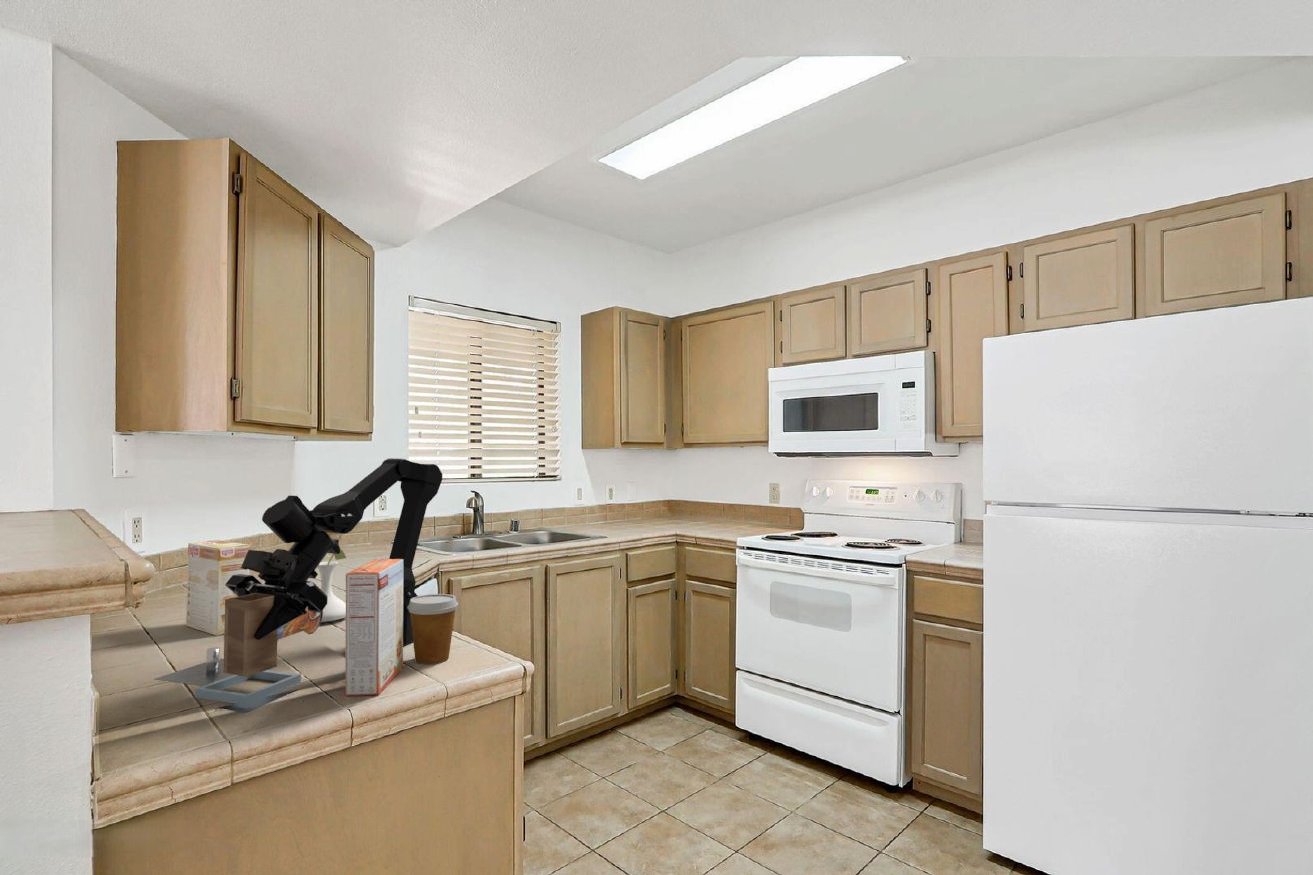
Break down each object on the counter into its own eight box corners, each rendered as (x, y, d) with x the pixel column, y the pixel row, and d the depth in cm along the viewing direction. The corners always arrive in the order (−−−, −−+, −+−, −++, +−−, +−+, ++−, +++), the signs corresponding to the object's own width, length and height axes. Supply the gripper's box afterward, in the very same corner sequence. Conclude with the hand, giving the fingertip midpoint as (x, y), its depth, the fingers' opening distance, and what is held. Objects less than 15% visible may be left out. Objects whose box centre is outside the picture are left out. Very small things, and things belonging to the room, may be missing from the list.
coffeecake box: (249, 629, 149) (251, 544, 150) (215, 636, 143) (217, 547, 144) (218, 619, 157) (220, 539, 158) (184, 626, 151) (186, 542, 152)
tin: (273, 648, 135) (274, 607, 135) (260, 647, 136) (261, 606, 136) (323, 629, 150) (324, 592, 150) (312, 628, 151) (312, 591, 151)
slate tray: (300, 689, 112) (300, 674, 112) (246, 712, 102) (246, 696, 102) (252, 682, 115) (252, 668, 115) (194, 704, 105) (195, 689, 105)
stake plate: (267, 670, 121) (267, 642, 121) (206, 693, 110) (207, 662, 110) (217, 664, 124) (218, 637, 125) (153, 685, 113) (154, 655, 113)
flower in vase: (289, 621, 157) (291, 517, 157) (335, 611, 166) (337, 514, 167) (317, 630, 149) (320, 520, 150) (364, 619, 158) (366, 517, 159)
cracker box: (371, 669, 122) (373, 558, 123) (404, 668, 123) (406, 558, 124) (341, 697, 109) (344, 571, 109) (378, 696, 109) (381, 571, 110)
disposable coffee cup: (466, 655, 132) (467, 595, 132) (436, 669, 123) (437, 605, 123) (428, 650, 135) (429, 591, 135) (395, 663, 126) (396, 601, 126)
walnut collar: (254, 662, 112) (255, 592, 112) (276, 666, 110) (278, 595, 110) (223, 672, 107) (225, 599, 107) (246, 676, 105) (248, 602, 105)
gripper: (236, 528, 116) (170, 604, 105) (314, 534, 109) (252, 615, 99) (275, 565, 123) (217, 639, 113) (351, 572, 117) (296, 652, 106)
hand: (243, 636), depth 107 cm, fingers closed on walnut collar, 5 cm apart
